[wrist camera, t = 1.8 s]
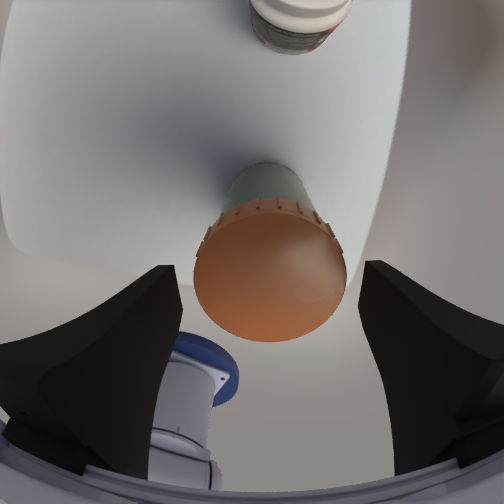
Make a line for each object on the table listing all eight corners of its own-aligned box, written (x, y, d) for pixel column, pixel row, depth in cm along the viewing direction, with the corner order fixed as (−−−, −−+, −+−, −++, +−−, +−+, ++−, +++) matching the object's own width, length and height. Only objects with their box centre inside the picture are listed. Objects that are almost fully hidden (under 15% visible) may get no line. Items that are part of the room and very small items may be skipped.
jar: (281, 247, 22) (292, 347, 13) (215, 215, 21) (181, 301, 12) (320, 186, 19) (365, 254, 11) (250, 148, 18) (238, 186, 10)
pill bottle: (323, 61, 16) (366, 31, 8) (248, 51, 15) (237, 9, 8) (330, 1, 13) (369, -55, 6) (256, -10, 13) (252, -76, 6)
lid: (292, 334, 14) (294, 359, 12) (180, 286, 13) (170, 309, 11) (365, 238, 12) (378, 258, 10) (238, 169, 10) (233, 179, 9)
